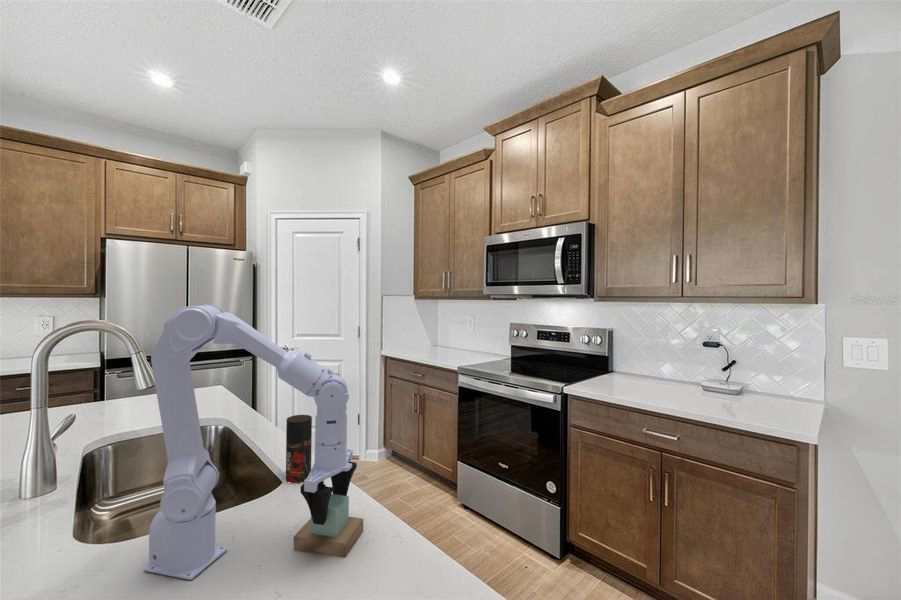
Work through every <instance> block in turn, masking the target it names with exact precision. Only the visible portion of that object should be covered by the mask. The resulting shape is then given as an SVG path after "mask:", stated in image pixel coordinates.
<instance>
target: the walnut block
mask: <svg viewBox="0 0 901 600" xmlns="http://www.w3.org/2000/svg"><path fill="white" fill-rule="evenodd" d="M363 532H364V518H362V517H361V518H360V517H354V516H349V522H348V523H347V524H346V526H345V527H344V528H343V529H342V531H341V532H340V533H339V534H338V535H337V537H330V536H324V535H318V534H312V533H311V518H310V519H308V521H307V522H306V523H305V524H304V525H302V527H301V528H300V529H299V530H298V531H297V532H296V533H295V535H294V536H293V551H297V552H304V553H309V554H310V553H312V554H317V555H318V554H319V555H324V556H330V557H331V556H332V557H339V558H347V556H348V554H349V553H350V552H351V550H352V549H353V547H354V546H355V544H356V542H357V541H358V539H359V538H360V537H361V535H362V534H363Z"/></svg>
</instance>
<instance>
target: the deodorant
mask: <svg viewBox="0 0 901 600" xmlns="http://www.w3.org/2000/svg"><path fill="white" fill-rule="evenodd" d="M312 423H313V417H312V416H311V415H309V414H296V415H291V416H289V417H287V418H286V434H285V435H286V437H285V438H286V439H285V441H286V443H285V445H286V446H285V482H286V481H287V482H286V483H288V482H291V483H290V484H292V483H298V484H301V483H300V482H303V483H304V480H305V479H306V478H307V477H308V476H309V474H310V472H311V469H312V439H313V438H312V436H313V435H312V431H313V430H312V427H313V424H312Z"/></svg>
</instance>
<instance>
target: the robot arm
mask: <svg viewBox="0 0 901 600" xmlns="http://www.w3.org/2000/svg"><path fill="white" fill-rule="evenodd" d="M211 341H212V343H213V344H215V345H216V344H217V345H219V344H220V345H226V344H227V345H230V344H231V345H236V346H239V348H242V349H243V350H245V351H247V352H249V353H251V354H252V355H254V356H256V357H258V358H259V359H261V360H263V361H264V362H266V363H268V364H269V365H270V366H273V367H275V368H276V371H277V376H278V378H279V380H281V381H283V382H285V383H287V384H288V385H289V386H291V387H292V388H294V389H296V390H297V391H299V392H301V393H302V394H304V395H306V396H307V397H312V398H314V399H313V400H314V402H315V405H316V415H315V418H314V419H315V421H314V426H315V427H314V463H313V465H312V466H311V472H310V474H309V476H308V477H307V478H306V479H305V480H304V482H303V484H301V486H300V494H301V495H302V497H303V498H304V500H305V501H306V503H307V506H308V509H309V512H310V517H311V516H312V520H313V523H314V524H319V525H324V524H325V522H326V519H327V512H328V504H329V500H330V496H331V494H335V495H343V496H348V492H349V488H350V483H351V481H352V478H353V475H354V473H355V471H356V469H357V466H358V463H357V462H355V461H352V460H353V453H354V452H353V451H354V450H353V449H352V448H347V443H348V442H347V441H348V440H347V439H348V414H347V410H348V408H347V403H348V401H349V397H350V394H349V390H348V385H347V382H346V381H345V379H344V378H343V377H342V376H341V375H340V374H339V372H334V370H333V369H332V368H330V367H328V368H325V367H323V365H321V364H319V363H318V362H316V361H315V360H313V359H312V354H311V353H308V352H307V351H305V352H304V353H303V352H301V351H297V350H296V351H291V352H288V351H286V350H285V349H284V348H282V347H281V346H279V345H278V344H276V343H275V342H274V341H272V340H271V339H270V338H268V337H267V336H266V335H264V334H262V333H261V332H259V331H258V330H256V329H255V328H254V327H253V326H251V325H250V324H248V323H247V322H246V321H244V320H242V319H241V318H239V317H238V316H237V315H234V314H232V313H230V312H229V311H226V312H225V311H224V310H223V309H222V308H221V307H220V306H217V305H215V304H212V303H205V304H201V305H188V306H185V307H182V308H180V309H179V310H177V311H176V312H175V313H174V314H173V315H171V316H170V317H169V318H168V319H167V320H165V321H164V323H163V330H162V332H161V333H160V337H159V338H158V340H157V343H156V344H155V346H154V349H153V350H152V353H151V355H150V363H151V369H152V374H153V375H152V376H153V381H154V387H155V390H156V391H155V392H156V398H157V402H158V403H157V404H158V409H159V414H160V416H159V417H160V421H161V429H162V432H163V439H164V446H165V450H166V451H165V452H166V457H167V465H166V468H165V473H164V475H163V476H164V477H163V494H162V496H161V498H160V502H159V507H160V508H159V509H160V510H159V511H158V512H157V513H156V515H155V516H154V517H153V518H152V521H151V523H150V525H149V530H148V564H147V565H145V566H144V567H143V571H145V572H148V573H149V572H150V573H153V574H158V575H164V576H169V577H174V578H179V579H183V580H184V579H185V580H193V579H194V578H196V577H197V576H198V575H199V574H200V573H202V572H203V571H204V570H206V568H207V567H209V566H210V565H211V564H212V563H214V562H215V561H216V560H217V559H218V558H220V557H221V556H222V555H223V554H225V552H227V551H228V547H227V546H225V545H224V546H223V545H218V544H217V545H216V522H217V521H216V518H217V517H216V515H217V514H216V511H217V509H216V508H217V507H216V503H217V502H216V499H215V498H214V495H213V490H214V489H215V488H216V486H217V484H218V482H219V479H220V476H219V475H220V474H219V471H218V469H217V467H216V466H215V465H214V464H213V462H212V461H211V457H210V452H209V451H207V450H206V449H205V447H204V442H203V437H202V431H201V425H200V424H201V423H200V417H199V412H198V406H197V400H196V399H197V398H196V394H195V392H196V391H195V388H194V380H193V373H192V369H191V363H190V362H191V360H192V359H193V358H194V357H195V355H196V354H197V353H198V352H199V351H200V350H201V349H202V348H203V347H204V346H205V345H206V344H207V343H209V342H211ZM329 478H330V479H331V486H327V485H326V484H325V481H326V480H328V479H329Z"/></svg>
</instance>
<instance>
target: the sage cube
mask: <svg viewBox="0 0 901 600" xmlns="http://www.w3.org/2000/svg"><path fill="white" fill-rule="evenodd" d="M349 501H350V496H349V495H347V496H343V495H335V494H333V493H332V494H331V496H330V500H329V504H328V512H327V519H326V522H325V524H324V525H319V524H314V523H313V520H312V516H311V515H310V519H311V533H312V534H318V535H324V536H330V537H337V535H338V534H339V533H340V532H341V531H342V529H343V528H344V527H345V526H346V524H347V523H348V522H349V517H350V516H349V513H350V511H349V510H350V509H349V508H350V507H349V504H350V502H349Z"/></svg>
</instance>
